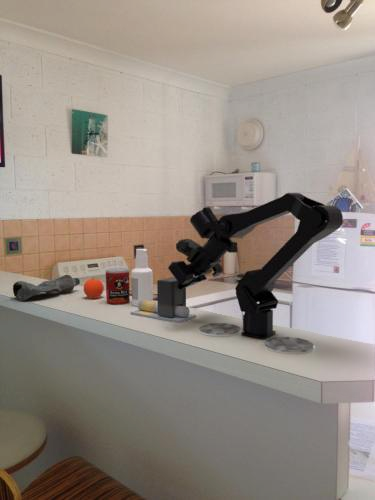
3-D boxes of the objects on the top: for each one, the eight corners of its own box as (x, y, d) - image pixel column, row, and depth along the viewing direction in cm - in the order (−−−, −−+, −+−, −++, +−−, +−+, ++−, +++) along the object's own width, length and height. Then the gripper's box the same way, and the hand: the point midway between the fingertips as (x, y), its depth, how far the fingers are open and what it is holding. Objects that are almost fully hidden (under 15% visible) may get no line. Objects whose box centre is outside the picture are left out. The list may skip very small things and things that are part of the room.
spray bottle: (141, 301, 155) (140, 247, 153) (157, 303, 151) (156, 248, 149) (127, 305, 149) (126, 249, 147) (143, 307, 145) (142, 250, 143)
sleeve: (186, 312, 134) (185, 278, 133) (171, 317, 128) (171, 282, 127) (172, 310, 137) (172, 277, 136) (157, 314, 131) (157, 280, 130)
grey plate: (196, 317, 133) (196, 304, 132) (179, 322, 126) (179, 309, 126) (148, 309, 143) (148, 297, 143) (130, 314, 137) (130, 302, 136)
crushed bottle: (24, 303, 153) (89, 291, 170) (22, 282, 152) (87, 272, 170) (7, 301, 162) (70, 290, 179) (5, 281, 162) (69, 271, 179)
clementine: (102, 294, 166) (101, 275, 166) (110, 298, 161) (109, 277, 160) (80, 297, 162) (80, 277, 161) (88, 300, 156) (87, 280, 156)
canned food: (107, 305, 149) (106, 271, 148) (105, 300, 156) (104, 268, 155) (131, 304, 151) (130, 270, 150) (127, 299, 158) (127, 267, 157)
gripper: (213, 227, 133) (182, 263, 140) (173, 231, 118) (141, 270, 125) (237, 256, 129) (204, 291, 137) (199, 264, 114) (164, 302, 122)
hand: (179, 288), depth 130 cm, fingers closed, pressing on sleeve
